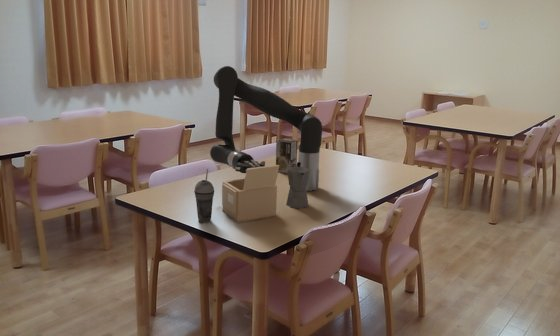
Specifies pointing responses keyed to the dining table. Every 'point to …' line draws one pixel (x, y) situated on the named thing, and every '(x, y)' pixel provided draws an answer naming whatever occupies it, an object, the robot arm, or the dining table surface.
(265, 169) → the flap
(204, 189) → the beverage cup
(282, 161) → the coffee box
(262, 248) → the dining table surface
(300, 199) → the coffeepot
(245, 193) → the carton
